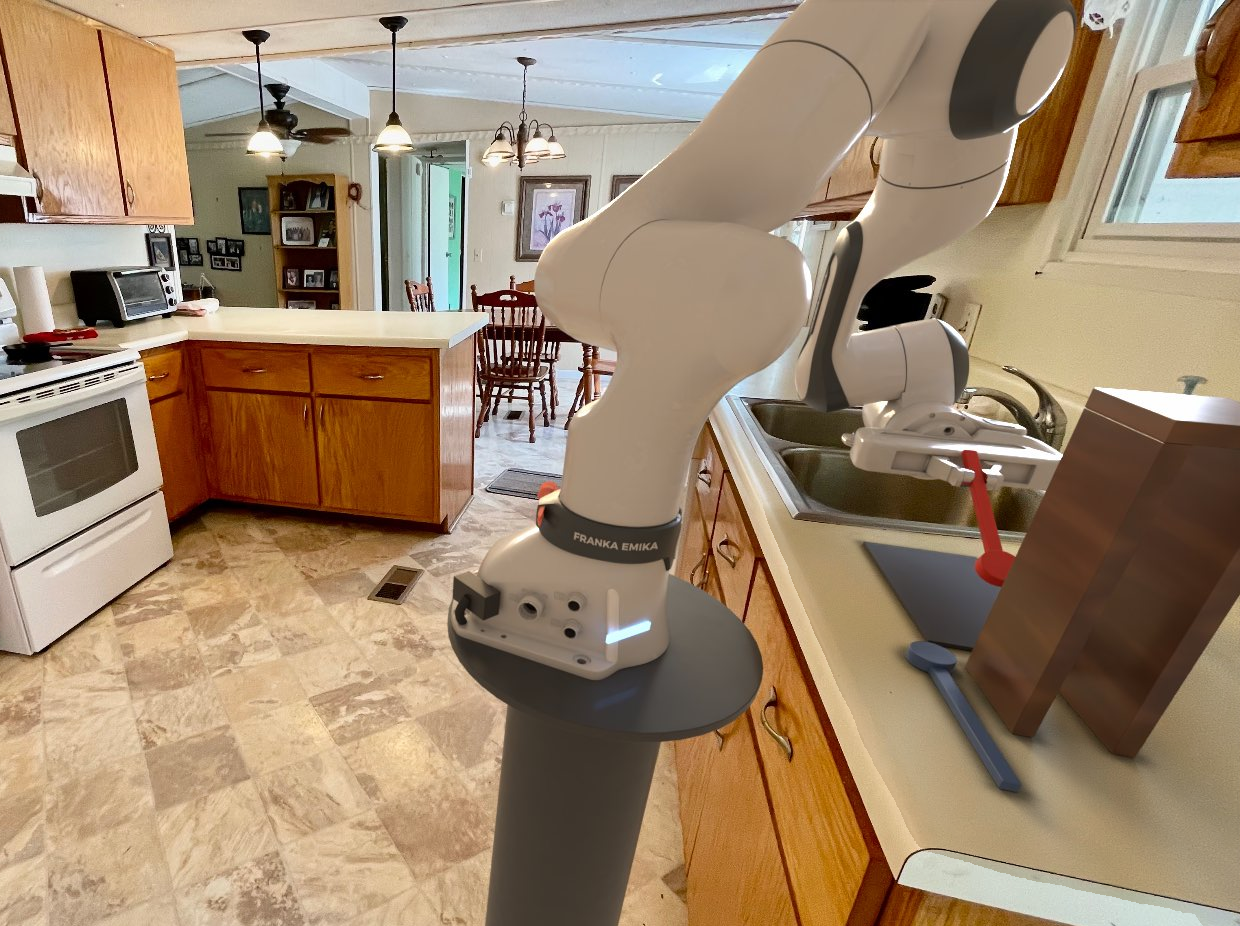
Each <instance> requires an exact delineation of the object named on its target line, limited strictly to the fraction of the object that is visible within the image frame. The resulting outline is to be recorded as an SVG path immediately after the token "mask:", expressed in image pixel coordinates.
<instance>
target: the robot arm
mask: <svg viewBox="0 0 1240 926" xmlns="http://www.w3.org/2000/svg"><path fill="white" fill-rule="evenodd" d="M1077 26H1078V13H1077V11H1076V8H1075V7H1074V5H1073V4H1072V2H1071V0H804V1H803V2H802V3H800V5H799V6H797V7H796V8H795V9H794V11H792V12H791V13H790V15H789V16H787V18H786V19H785V20H783V22H782V23H781V24H780V25H779V26H778V27H777V28H776V29H775V31H774V32H773V33H772V34H771V35H770V37H768V38H767V40H766V41H765V42H764V43H763V45H762V46H761V47H760V48H759V50H758V51H757V52H756V53H755V55H754V56H752V58H751V59H750V61H749V62H748V63H747V64H746V66H745V67H744V68H743V70H742V71H741V72H740V73H739V74H738V76H737V77H736V78H735V80H734V81H733V82H732V83H731V85H730V86H729V87H728V88H727V89H726V91H725V92H724V93H723V94H722V96H721V97H720V98H719V100H717V102H715V104H714V106H712V108H711V109H710V110H709V112H708V113H707V114H706V115H705V116H704V118H703V119H702V120H701V121H700V123H699V124H698V125H697V126H696V127H695V129H693V130H692V131H691V133H690V134H689V135H688V136H687V137H686V138H685V139H683V141H682V142H681V143H680V144H678V146H676V147H675V148H674V149H673V150H672V151H671V152H670V153H669V154H667V156H665V157H664V158H663V159H662V160H661V161H659V162H658V163H657V164H656V165H654V166H653V167H652V168H651V169H649V170H648V171H647V172H646V173H645V174H643V175H642V176H641V177H640V178H638V180H636V181H635V182H634V183H633V184H632V185H630V186H629V187H628V188H627V189H625V190H624V191H623V192H621V193H620V194H619V195H618V196H616V198H615V199H613V200H612V201H610V202H609V203H608V204H607V205H605V206H604V207H602V208H601V209H600V210H598V211H597V212H595V213H594V214H592V215H591V216H589V217H587V218H586V219H584V220H582V221H580V222H578V223H576V224H574V225H572V226H570V227H568V228H565V229H564V230H562V231H561V232H559V233H558V234H556V235H555V236H554V237H553V238H552V239H551V240H550V241H549V242H548V244H547V245H546V246H545V248H544V249H543V251H542V253H541V255H540V257H539V259H538V262H537V265H536V268H535V273H534V281H533V282H534V283H533V288H534V289H533V291H534V297H535V301H536V304H537V307H538V309H539V311H540V312H541V314H542V316H543V317H544V318H545V319H546V320H547V321H549V323H551V324H552V325H553V326H555V327H556V328H558V329H559V330H560V331H561V332H563V333H565V334H566V335H568V336H569V337H571V338H573V339H574V340H576V341H578V342H581V343H583V344H587V345H590V346H593V347H597V348H601V349H605V350H606V351H607V350H608V351H611V352H615V353H616V363H615V367H614V371H613V373H612V375H611V378H610V380H609V383H608V385H607V387H606V389H605V390H604V392H603V394H602V395H601V397H600V398H598V399H595V400H593V401H591V402H588V403H587V404H585V405H584V406H582V407H580V409H578V411H577V412H576V413H575V414H573V416H572V418H571V419H570V422H569V425H568V429H567V436H566V444H565V453H564V460H563V468H562V475H561V483H560V484H561V485H560V488H559V486H557V483H555V482H553V481H551V480H550V481H549V480H548V481H545V482H543V483H542V484H541V485H540V487H539V490H538V492H537V499H538V503H537V508H536V512H535V513H536V515H535V522H534V523H532V524H529V525H528V526H526V527H524V528H522V529H519V530H517V531H515V532H512V533H509V534H508V535H506V536H504V537H502V538H500V539H498V540H497V541H496V542H494V544H493V545H492V546H491V547H490V548H489V550H488V551H487V552H486V554H485V556H484V557H483V560H482V561H481V563H480V566H479V568H478V569H477V570H475V571H474V572H471V571H470V570H468V571H465V572H462V573H459V574H456V575H454V576H453V579H452V581H453V582H452V598H453V599H454V601H453V605H452V610H451V623H452V626H453V628H454V630H455V632H456V634H457V635H459V636H461V637H464V638H467V639H470V640H473V641H475V642H478V643H481V644H484V645H488V646H491V647H494V648H497V649H500V650H503V651H506V652H509V653H512V654H515V655H518V656H521V657H524V658H527V659H530V660H533V661H536V662H539V663H542V664H545V665H548V666H551V667H554V668H557V669H560V670H563V671H566V672H569V673H572V674H575V675H578V676H581V677H584V678H587V679H590V680H601V679H604V678H606V677H608V676H610V675H611V674H613V673H614V672H616V671H617V670H619V669H623V668H627V667H632V666H637V665H642V664H645V663H648V662H650V661H652V660H655V659H656V658H658V657H659V656H661V655H662V654H663V653H664V652H665V651H666V649H667V648H668V645H669V642H670V633H669V627H668V617H667V589H668V576H669V574H670V570H672V567H673V564H674V561H675V560H676V558H677V553H678V549H679V546H680V545H679V543H680V539H681V535H682V529H683V511H682V508H681V503H682V499H683V494H684V489H685V486H686V483H687V477H688V473H689V469H690V465H691V462H692V457H693V453H694V450H695V446H696V444H697V441H698V439H699V436H700V434H701V431H702V429H703V427H704V425H705V424H706V422H707V420H708V418H709V417H710V415H711V414H712V412H713V411H714V409H715V408H716V407H717V406H718V404H719V403H720V401H721V400H722V399H723V398H724V397H725V396H726V395H727V394H728V393H729V392H730V391H731V390H732V389H733V388H735V387H736V386H737V385H738V384H740V383H741V382H743V381H744V380H746V379H747V378H749V377H751V376H753V375H755V374H757V373H759V372H761V371H763V370H765V369H767V368H768V367H769V366H771V365H772V364H774V363H775V362H776V361H777V360H779V359H780V358H781V357H782V356H783V355H784V354H785V352H786V351H787V350H789V348H790V347H791V346H792V345H793V343H794V342H795V340H796V339H797V338H798V336H799V334H800V333H801V331H802V329H803V327H804V324H806V323H805V322H806V320H807V317H808V314H809V311H810V307H811V302H812V295H813V293H812V292H813V288H812V287H813V285H812V277H811V276H812V275H811V270H810V267H809V265H808V261H807V259H806V257H805V255H804V253H803V251H802V250H801V248H799V246H797V245H796V244H795V243H793V242H792V241H791V240H788V239H786V238H784V237H781V236H778V235H775V234H772V233H771V232H773V231H775V230H777V229H779V228H781V227H783V226H785V225H786V224H788V223H789V222H791V221H792V220H793V219H795V218H796V217H797V216H798V215H800V214H801V213H802V212H803V211H805V209H806V208H807V207H808V205H809V204H810V203H811V202H812V201H813V199H814V198H815V197H816V196H817V195H818V193H819V192H820V190H822V188H823V187H824V185H825V184H827V182H828V180H829V179H830V178H831V177H832V176H833V174H834V173H835V172H836V171H837V169H838V168H839V167H840V166H841V164H842V163H843V162H844V161H845V159H846V158H847V157H848V156H849V154H850V153H851V152H852V151H853V149H854V148H855V147H856V145H858V143H859V142H860V141H861V139H862V138H863V137H864V136H865V137H877V138H880V139H883V144H882V150H881V155H880V163H879V172H878V176H877V181H876V184H875V187H874V189H873V191H872V193H871V195H870V197H869V198H868V200H867V202H866V204H865V205H864V207H863V209H861V211H860V212H859V214H858V215H857V216H856V218H855V219H853V220H852V221H851V222H850V223H849V224H846V226H845V227H843V228H842V229H841V230H840V232H839V234H838V236H837V238H836V240H835V242H834V245H833V247H832V250H831V252H830V256H829V259H828V262H827V265H826V269H825V270H824V271H825V272H824V275H823V278H822V281H821V286H820V289H819V293H818V297H817V300H816V304H815V308H814V311H813V315H812V318H811V322H810V325H809V329H808V332H807V335H806V338H805V340H804V343H803V345H802V347H801V349H800V351H799V355H798V356H797V357H798V358H797V361H796V364H795V369H794V385H795V389H796V393H797V396H798V399H799V400H800V401H801V402H802V403H803V404H804V405H806V406H808V407H810V408H812V409H814V410H816V411H818V412H820V413H823V414H829V413H834V412H838V411H842V410H846V409H850V408H852V407H857V406H862V410H861V416H862V422H863V425H864V427H862V426H861V427H859V428H858V429H857V430H856V431H853V432H852V433H847V432H846V433H843V434H842V435H841V436H840V438H841V441H842V443H843V444H844V445H846V446H848V447H850V450H849V458H850V461H851V463H852V465H853V466H854V467H855V468H857V469H860V470H862V471H866V472H875V473H884V474H892V475H902V476H908V477H912V478H915V479H919V480H926V481H932V480H933V481H934V480H941V481H944V482H947V483H949V484H950V485H951V486H952V487H957V488H959V487H960V488H969V487H970V486H971V484H972V482H971V481H972V480H974V477H975V473H974V472H973V471H971V469H969V468H964V464H963V459H962V455H961V453H962V452H963V450H964V449H970V450H977V453H978V457H979V461H980V465H981V469H982V472H983V476H984V480H985V484H986V488H987V491H994V492H998V491H1000V489H1001V488H1002V487H1007V488H1008V487H1009V488H1016V489H1017V488H1018V489H1025V490H1034V491H1042V492H1043V491H1044V492H1046V490H1047V488H1048V485H1049V483H1050V481H1051V479H1052V477H1053V475H1054V472H1055V470H1056V468H1057V466H1058V464H1059V462H1060V459H1061V457H1062V455H1063V453H1061V452H1059V451H1058V450H1057V449H1055V448H1054V447H1052V446H1050V445H1049V444H1047V443H1045V442H1044V441H1042V440H1040V439H1037V438H1034V437H1032V436H1029V435H1027V434H1028V429H1027V428H1025V427H1024V426H1021V425H1019V424H1014V423H1009V422H1005V421H1000V420H994V419H990V418H986V417H985V418H984V417H980V416H976V415H973V414H971V413H969V412H966V411H964V410H957V409H955V408H953V407H952V406H954V405H956V404H957V402H958V401H959V400H960V398H961V396H962V394H963V393H964V391H965V389H966V387H967V385H968V382H969V381H968V380H969V374H970V353H969V350H968V346H967V344H966V341H965V340H964V338H963V336H962V335H961V334H960V333H958V331H956V329H954V328H953V327H952V326H951V325H950V324H948V323H946V322H945V321H943V320H941V319H938V318H935V317H932V318H928V319H922V320H917V321H916V320H915V321H909V322H904V323H899V324H894V325H889V326H886V327H882V328H881V327H880V328H876V329H872V330H866V331H862V332H855V333H852V332H853V329H854V326H855V322H856V320H857V317H858V313H859V311H860V308H861V304H862V303H863V299H864V298H865V296H866V295H867V293H868V292H869V291H870V290H871V289H872V288H873V287H875V286H876V285H877V284H878V283H879V282H881V281H882V280H884V279H885V278H887V277H888V276H891V274H894V273H896V272H897V271H898V270H900V269H902V268H904V267H906V266H907V265H909V264H912V263H913V262H915V261H918V260H920V259H922V258H924V257H926V256H928V255H931V254H933V253H935V252H938V251H940V250H942V249H944V248H947V247H948V246H950V245H952V244H954V243H955V242H957V241H958V240H960V239H961V238H963V237H964V236H966V235H968V233H970V232H972V231H973V230H974V229H975V228H976V227H978V226H979V225H980V224H981V223H982V222H983V221H984V220H985V219H986V218H987V217H988V216H989V214H990V213H991V211H992V210H993V209H994V208H995V206H996V204H997V202H998V200H999V198H1000V196H1001V194H1002V191H1003V189H1004V186H1005V184H1006V180H1007V177H1008V174H1009V169H1010V165H1011V162H1012V157H1013V153H1014V149H1015V144H1016V140H1017V136H1018V128H1019V125H1020V124H1021V123H1022V122H1024V121H1026V120H1027V119H1029V118H1030V117H1032V116H1033V115H1034V114H1035V113H1036V112H1037V111H1038V110H1039V109H1040V108H1041V107H1042V105H1043V104H1044V103H1045V102H1046V100H1047V99H1048V97H1049V96H1050V95H1051V93H1052V91H1054V88H1055V86H1056V85H1057V83H1058V81H1059V80H1060V77H1061V76H1062V74H1063V73H1064V70H1065V68H1066V66H1067V63H1068V61H1069V58H1070V56H1071V51H1072V49H1073V45H1074V41H1075V38H1076V33H1077ZM969 489H970V488H969Z"/></svg>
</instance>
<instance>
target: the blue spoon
mask: <svg viewBox="0 0 1240 926" xmlns="http://www.w3.org/2000/svg"><path fill="white" fill-rule="evenodd" d="M905 658H906V660H907V661H908V662H909V663H910V664H911V665H912V666H914V667H915V668H917V669H919V670H921V671H923V672H925V673H928V674H929V677H930V679H932V681H933V683H934V685H935V686H936V688H937V689H938V691H939V693H940V694H941V696H942V698H943V700H944V701H945V703H946V704H947V706H948V707H949V709H950V711H951V713H952V714H953V716H954V717H955V719H956V720H957V722H958V724H959V725H960V727H961V729H962V731H963V732H964V734H965V735H966V737H967V739H968V740H969V742H970V744H971V746H972V747H973V748H974V751H975V752H976V753H977V755H978V757H979V758H980V760H981V762H982V764H983V765H984V766H985V768H986V769H987V771H988V773H989V774H990V776H991V778H992V780H993V781H994V783H995V785H996V786H997V788H998V789H1001V790H1003V791H1004V790H1005V791H1009V792H1013V793H1019V792H1020V790H1021V788H1022V786H1023V784H1022V783H1021V781H1020V780H1019V778H1018V776H1017V775H1016V773H1015V772H1014V770H1013V769H1012V767H1011V766H1010V764H1009V763H1008V762H1007V760H1006V758H1005V756H1004V755H1003V753H1002V752H1001V750H1000V749H999V747H998V745H997V744H996V743H995V741H994V740H993V738H992V736H991V735H990V734H989V732H988V731H987V729H986V728H985V726H984V724H983V723H982V721H981V719H980V718H979V717H978V715H977V714H976V712H975V711H974V709H973V708H972V706H971V704H970V703H969V702H968V700H967V698H966V697H965V695H964V694H963V692H962V691H961V689H960V688H959V686H958V684H957V683H956V681H955V680H954V678H953V677H952V675H951V674H952V673H953V672H954V670H955V667H956V665H957V662H958V660H957V659H958V658H957V657H956V656H955V654H954V653H953V652H952V651H950V650H949V649H947V648H946V647H944V646H939V645H936V644H933V643H930V642H926V641H925V640H924V641H923V640H915V641H912V642H911V643H909V645H908V648H907V650H906V651H905Z"/></svg>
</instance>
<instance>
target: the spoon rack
mask: <svg viewBox="0 0 1240 926" xmlns="http://www.w3.org/2000/svg"><path fill="white" fill-rule="evenodd" d="M1239 597H1240V401H1238V400H1236V399H1232V398H1230V397H1219V396H1218V397H1217V396H1205V395H1204V396H1203V395H1191V394H1179V393H1169V392H1154V391H1142V390H1141V391H1140V390H1129V389H1118V388H1117V389H1116V388H1103V387H1093V388H1092V390H1091V392H1090V394H1089V396H1088V399H1087V401H1086V402H1085V405H1084V408H1083V409H1082V412H1081V414H1080V416H1079V419H1078V420H1077V423H1076V425H1075V427H1074V429H1073V431H1072V433H1071V436H1070V438H1069V441H1068V442H1067V444H1066V446H1065V449H1064V451H1063V452H1062V457H1061V459H1060V462H1059V464H1058V466H1057V468H1056V470H1055V472H1054V475H1053V477H1052V479H1051V481H1050V483H1049V485H1048V488H1047V490H1046V491H1044V494H1043V497H1042V499H1041V501H1040V503H1039V505H1038V507H1037V509H1036V511H1035V514H1034V516H1033V518H1032V520H1031V522H1030V524H1029V526H1028V529H1027V531H1026V533H1025V535H1024V537H1023V539H1022V541H1021V544H1020V546H1019V548H1018V550H1017V553H1016V555H1015V559H1014V561H1013V563H1012V566H1011V568H1010V570H1009V572H1008V574H1007V576H1006V579H1005V581H1004V583H1003V585H1002V587H1001V589H1000V591H999V594H998V596H997V598H996V600H995V602H994V604H993V607H992V609H991V611H990V613H989V615H988V617H987V620H986V622H985V624H984V626H983V628H982V630H981V633H980V635H979V637H978V639H977V641H976V643H975V646H974V648H973V650H972V651H970V655H969V657H968V658H967V661H966V663H965V665H964V668H965V669H966V670H967V671H968V673H969V675H970V676H971V677H972V679H973V680H974V682H975V683H976V685H977V686H978V687H979V689H980V690H981V692H982V693H983V695H984V696H985V697H986V699H987V700H988V702H989V703H990V706H992V708H993V709H994V710H995V712H996V714H997V715H998V716H999V718H1000V720H1001V721H1002V722H1003V724H1004V725H1005V726H1006V727H1007V729H1008V731H1009V732H1010V733H1011V734H1012V735H1017V736H1022V737H1026V738H1027V737H1028V738H1035V736H1036V734H1037V732H1038V730H1039V728H1040V727H1041V725H1042V723H1043V722H1044V720H1045V717H1046V716H1047V714H1048V712H1049V710H1050V708H1051V706H1052V705H1053V704H1054V703H1053V702H1054V701H1055V699H1056V697H1057V695H1058V694H1060V695H1061V696H1062V698H1063V699H1064V700H1065V702H1067V703H1068V704H1069V706H1070V707H1071V708H1072V709H1073V710H1074V712H1075V713H1076V714H1077V715H1078V716H1079V718H1080V719H1081V720H1082V721H1083V722H1084V723H1085V724H1086V725H1087V727H1088V728H1089V729H1090V731H1092V732H1093V734H1094V735H1095V736H1096V737H1097V738H1098V739H1099V741H1100V742H1101V743H1102V745H1104V747H1105V748H1106V749H1107V750H1108V751H1109V752H1110V754H1114V755H1117V756H1123V757H1129V758H1133V759H1135V758H1136V757H1137V756H1138V754H1139V753H1140V751H1141V749H1142V748H1143V746H1144V745H1145V743H1146V742H1147V740H1148V738H1149V737H1150V735H1151V734H1152V733H1153V731H1154V729H1155V727H1157V724H1158V723H1159V721H1160V720H1161V718H1162V717H1163V715H1164V714H1165V712H1166V711H1167V709H1168V708H1169V706H1170V704H1171V703H1172V701H1173V699H1174V698H1175V697H1176V695H1177V694H1178V692H1179V691H1180V689H1181V687H1182V686H1183V684H1184V683H1185V681H1186V679H1187V678H1188V676H1189V675H1190V673H1191V672H1192V670H1193V668H1194V667H1195V665H1196V664H1197V663H1198V661H1199V659H1200V658H1201V656H1202V654H1203V653H1204V651H1205V650H1206V648H1207V647H1208V645H1209V644H1210V642H1211V641H1212V639H1213V638H1214V637H1215V634H1216V633H1217V631H1218V630H1219V628H1220V626H1221V625H1222V624H1223V622H1224V620H1226V618H1227V616H1228V614H1229V613H1230V611H1231V609H1233V606H1234V605H1235V604H1236V602H1237V600H1238V599H1239Z"/></svg>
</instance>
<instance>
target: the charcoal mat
mask: <svg viewBox="0 0 1240 926" xmlns="http://www.w3.org/2000/svg"><path fill="white" fill-rule="evenodd" d="M862 545H863V547H864V549H865V550H866V551H867V553H868V554H869V556H870V558H871V559H872V561H873V562H874V564H875V565H876V567H877V568H878V570H879V572H880V573H881V575H882V576H883V578H884V579H885V581H886V583H887V584H888V585H889V587H890V589H891V590H892V592H893V593H894V595H895V596H896V598H897V599H898V601H899V602H900V604H901V605H902V607H903V608H904V610H905V611H906V613H907V615H908V616H909V617H910V620H911V621H912V623H914V626H915V627H916V628H917V630H918V632H919V633H920V635H921V636H922V637H923V639H924V642H930V643H933V644H936V645H939V646H941V647H944V648H952V649H956V650H957V649H958V650H964V651H970V652H972V650H973V648H974V646H975V643H976V641H977V639H978V637H979V635H980V633H981V630H982V628H983V626H984V624H985V622H986V620H987V617H988V615H989V613H990V611H991V609H992V607H993V604H994V602H995V600H996V598H997V596H998V594H999V591H1000V589H1001V587H997V586H994V585H991V584H989V583H987V582H986V581H984V580H983V579H982V578H981V577H980V576H979V575H978V574H977V572H976V570H975V562H976V561H977V559H978V558H977V556H970V555H964V554H956V553H949V552H943V551H935V550H928V549H920V548H913V547H906V546H900V545H892V544H886V543H885V544H884V543H877V542H871V541H863V542H862Z"/></svg>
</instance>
